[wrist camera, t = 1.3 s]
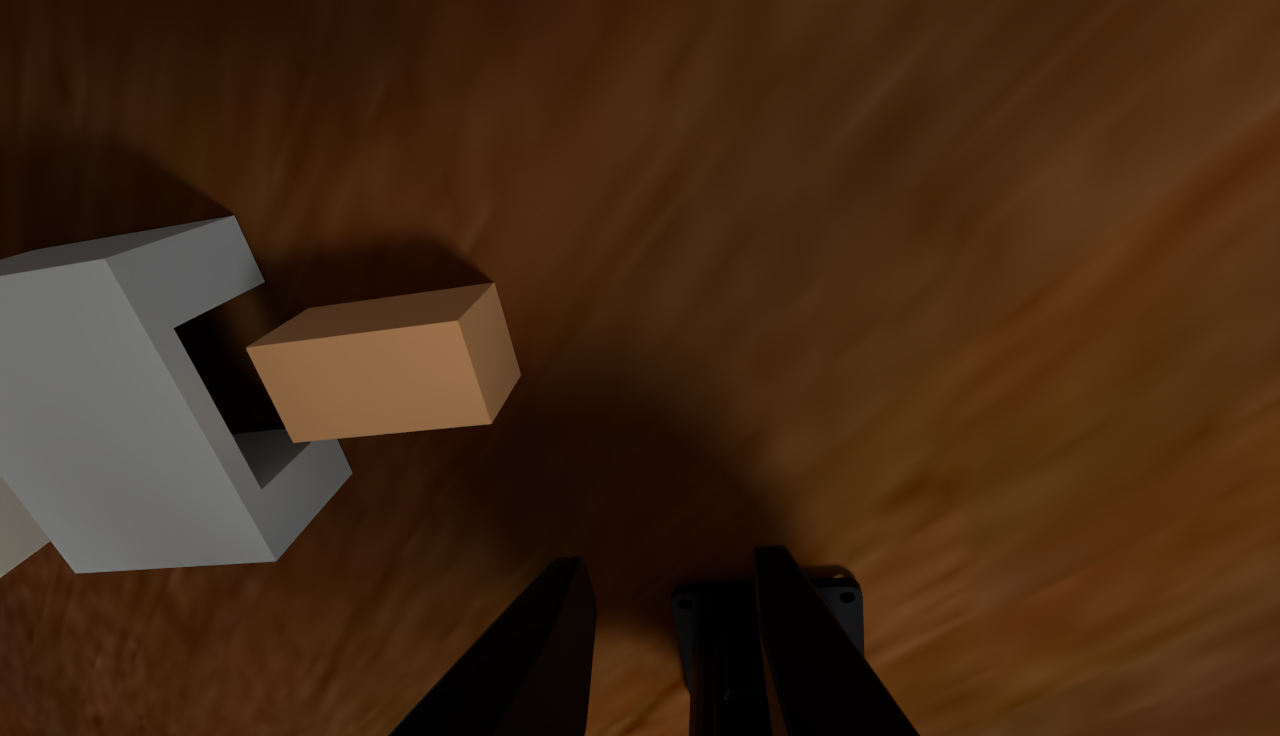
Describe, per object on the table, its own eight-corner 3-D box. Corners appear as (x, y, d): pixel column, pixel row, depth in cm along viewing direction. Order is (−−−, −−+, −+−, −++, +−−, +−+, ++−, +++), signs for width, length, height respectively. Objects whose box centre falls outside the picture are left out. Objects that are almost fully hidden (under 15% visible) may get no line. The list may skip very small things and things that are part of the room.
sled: (352, 473, 21) (276, 561, 18) (180, 487, 23) (75, 573, 19) (234, 215, 18) (104, 258, 14) (34, 249, 19) (-134, 298, 15)
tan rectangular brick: (522, 371, 19) (491, 423, 16) (348, 391, 20) (293, 442, 17) (496, 280, 18) (457, 320, 15) (311, 306, 19) (245, 347, 16)
